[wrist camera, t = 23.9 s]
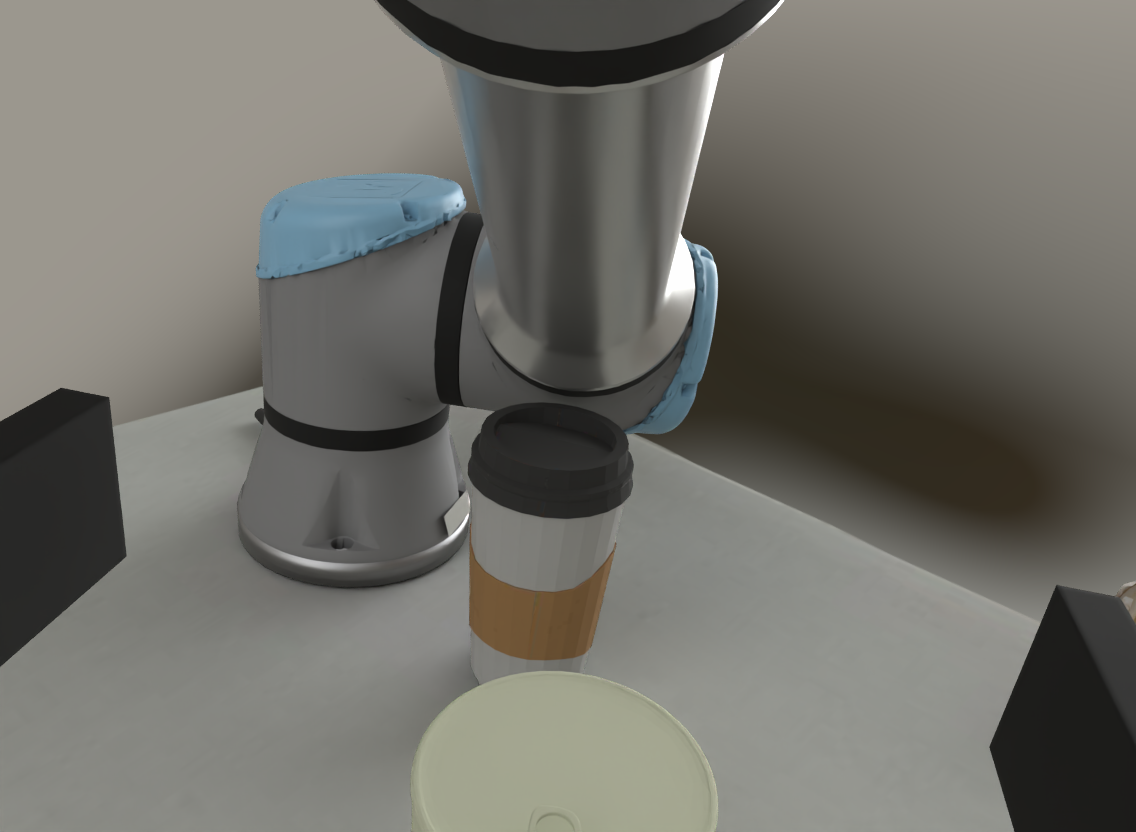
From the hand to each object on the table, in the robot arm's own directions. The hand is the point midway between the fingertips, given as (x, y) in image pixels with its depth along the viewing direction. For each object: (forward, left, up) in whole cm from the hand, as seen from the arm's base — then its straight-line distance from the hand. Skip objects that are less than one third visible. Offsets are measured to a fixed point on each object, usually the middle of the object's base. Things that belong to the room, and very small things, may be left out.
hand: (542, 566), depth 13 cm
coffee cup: (-19, +23, -28) cm, 41 cm away
